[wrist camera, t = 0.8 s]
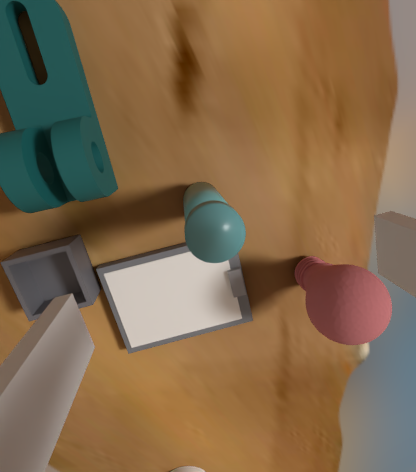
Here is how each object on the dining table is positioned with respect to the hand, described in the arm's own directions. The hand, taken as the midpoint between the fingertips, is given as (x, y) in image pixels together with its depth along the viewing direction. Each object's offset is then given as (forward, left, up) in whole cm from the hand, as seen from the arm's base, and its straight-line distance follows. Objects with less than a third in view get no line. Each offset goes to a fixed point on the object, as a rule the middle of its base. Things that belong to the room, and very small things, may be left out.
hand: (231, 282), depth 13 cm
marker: (0, 0, -20) cm, 20 cm away
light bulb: (+11, +10, -21) cm, 26 cm away
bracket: (-12, -11, -21) cm, 26 cm away
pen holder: (+4, -16, -20) cm, 26 cm away
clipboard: (+10, -5, -20) cm, 23 cm away
